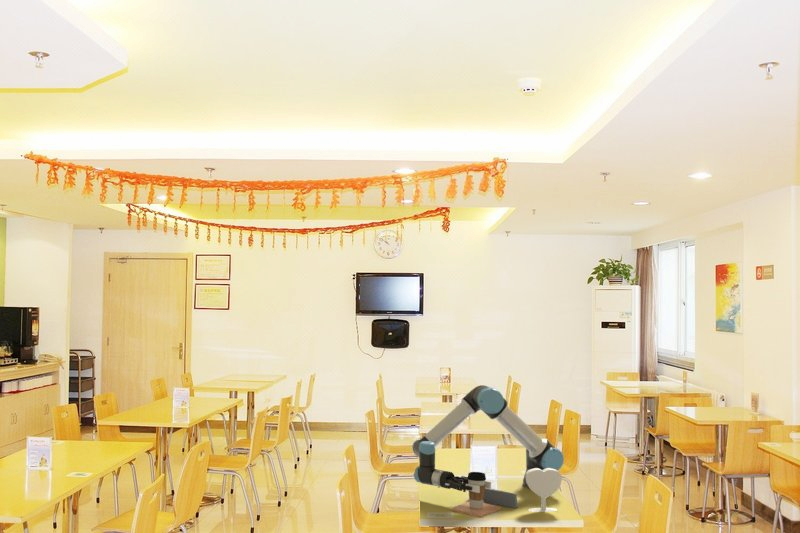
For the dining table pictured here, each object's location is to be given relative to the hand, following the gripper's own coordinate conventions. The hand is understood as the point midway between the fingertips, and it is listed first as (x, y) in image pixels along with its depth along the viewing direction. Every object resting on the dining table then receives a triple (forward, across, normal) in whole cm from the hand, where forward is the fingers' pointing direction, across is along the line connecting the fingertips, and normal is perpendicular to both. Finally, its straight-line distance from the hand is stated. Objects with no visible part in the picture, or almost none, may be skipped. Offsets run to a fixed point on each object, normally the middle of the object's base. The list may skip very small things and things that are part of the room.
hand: (484, 487), depth 300 cm
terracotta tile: (-5, 0, -10) cm, 11 cm away
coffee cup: (-5, 0, -10) cm, 11 cm away
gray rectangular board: (-5, -14, -10) cm, 18 cm away
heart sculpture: (+18, -19, -11) cm, 29 cm away
